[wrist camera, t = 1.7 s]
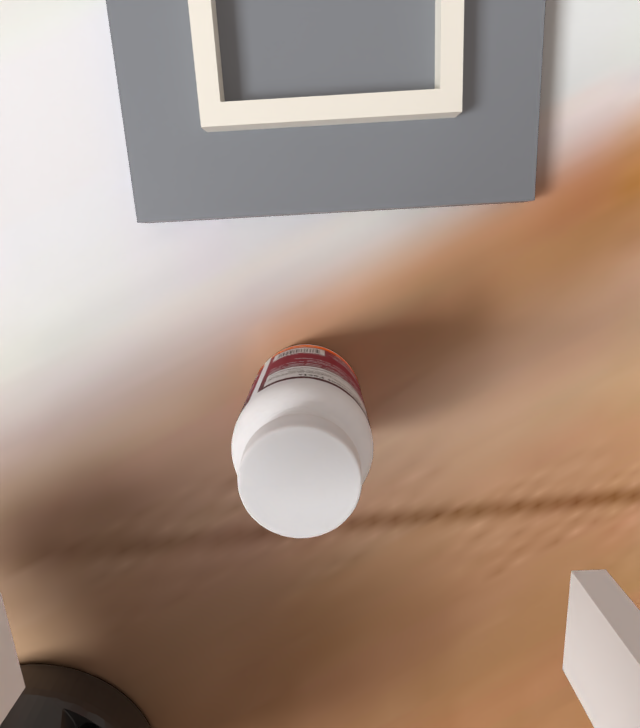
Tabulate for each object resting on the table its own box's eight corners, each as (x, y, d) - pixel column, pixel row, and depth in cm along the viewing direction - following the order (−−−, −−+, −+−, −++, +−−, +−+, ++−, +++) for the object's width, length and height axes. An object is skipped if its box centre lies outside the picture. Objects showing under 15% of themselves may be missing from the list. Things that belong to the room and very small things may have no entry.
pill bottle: (309, 461, 30) (302, 587, 19) (232, 395, 29) (179, 488, 18) (382, 391, 29) (417, 483, 18) (305, 318, 28) (293, 371, 17)
